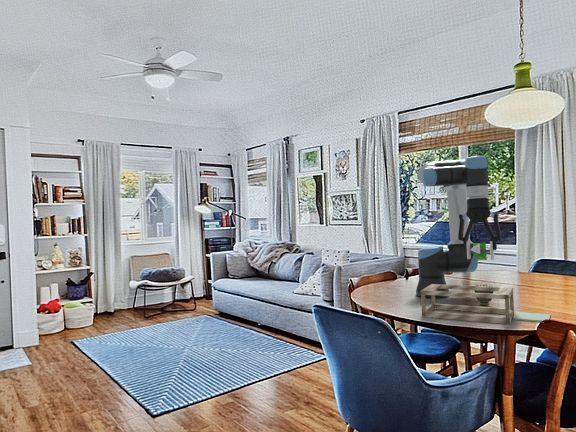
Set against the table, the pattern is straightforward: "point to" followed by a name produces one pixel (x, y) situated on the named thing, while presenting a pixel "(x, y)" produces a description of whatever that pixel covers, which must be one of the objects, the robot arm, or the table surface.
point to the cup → (484, 300)
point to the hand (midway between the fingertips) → (480, 258)
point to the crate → (501, 294)
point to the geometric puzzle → (480, 251)
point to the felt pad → (530, 316)
